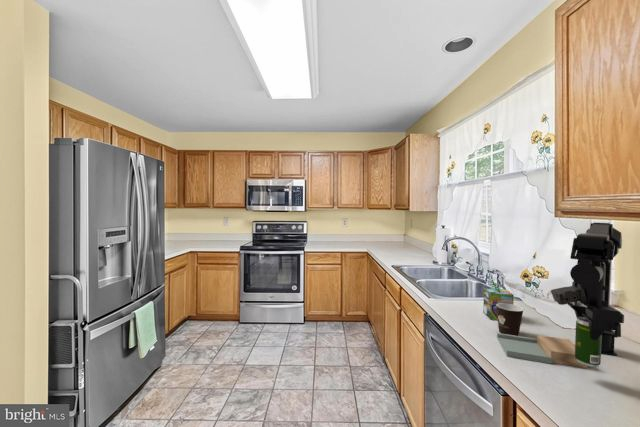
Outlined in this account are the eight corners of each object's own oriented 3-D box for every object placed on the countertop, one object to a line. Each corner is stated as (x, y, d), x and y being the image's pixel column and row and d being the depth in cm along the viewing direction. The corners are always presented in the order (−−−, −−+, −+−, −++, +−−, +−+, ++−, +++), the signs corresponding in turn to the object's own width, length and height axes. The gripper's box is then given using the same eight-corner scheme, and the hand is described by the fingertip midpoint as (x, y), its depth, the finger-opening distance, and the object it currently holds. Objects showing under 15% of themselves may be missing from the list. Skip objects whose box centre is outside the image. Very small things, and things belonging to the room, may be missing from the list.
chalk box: (513, 322, 122) (514, 287, 121) (489, 319, 124) (490, 285, 123) (504, 314, 131) (505, 281, 130) (482, 312, 133) (483, 280, 132)
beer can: (606, 367, 79) (608, 323, 78) (587, 367, 78) (589, 324, 78) (586, 357, 84) (588, 316, 84) (569, 357, 84) (570, 316, 83)
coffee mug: (526, 339, 106) (527, 312, 105) (500, 336, 107) (501, 310, 107) (512, 326, 117) (513, 301, 117) (489, 324, 119) (489, 300, 118)
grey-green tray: (535, 343, 102) (536, 338, 102) (551, 363, 89) (552, 357, 89) (496, 337, 106) (496, 332, 106) (506, 356, 93) (506, 350, 93)
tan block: (568, 349, 98) (569, 339, 98) (587, 368, 87) (587, 356, 87) (536, 344, 101) (537, 335, 101) (550, 362, 90) (551, 350, 90)
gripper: (543, 270, 92) (541, 319, 92) (570, 285, 75) (568, 345, 75) (587, 274, 88) (584, 324, 89) (626, 290, 71) (624, 353, 71)
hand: (588, 335), depth 81 cm, fingers closed on beer can, 5 cm apart
